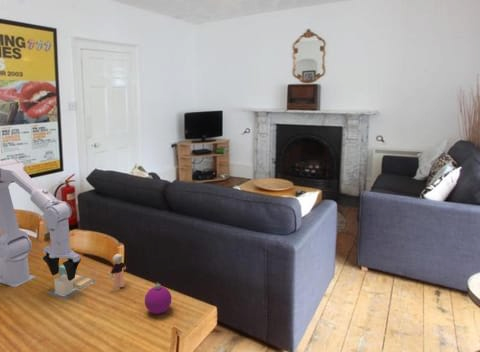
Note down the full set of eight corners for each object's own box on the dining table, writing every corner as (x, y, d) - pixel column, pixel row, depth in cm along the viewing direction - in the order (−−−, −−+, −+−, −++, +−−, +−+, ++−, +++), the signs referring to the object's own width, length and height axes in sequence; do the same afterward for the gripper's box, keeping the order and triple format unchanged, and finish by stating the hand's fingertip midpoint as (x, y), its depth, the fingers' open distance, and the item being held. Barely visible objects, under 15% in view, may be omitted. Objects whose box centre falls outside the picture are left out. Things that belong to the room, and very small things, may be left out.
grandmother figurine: (119, 293, 124) (117, 259, 121) (108, 292, 125) (106, 258, 122) (130, 282, 132) (128, 250, 129) (120, 281, 132) (118, 249, 130)
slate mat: (46, 293, 123) (46, 293, 123) (79, 275, 136) (79, 275, 136) (66, 300, 120) (65, 299, 120) (98, 281, 132) (98, 280, 132)
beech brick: (63, 284, 129) (63, 280, 128) (75, 278, 133) (74, 274, 133) (80, 289, 126) (80, 285, 125) (91, 283, 130) (91, 279, 130)
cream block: (55, 292, 123) (53, 279, 122) (65, 287, 127) (63, 274, 126) (63, 295, 122) (62, 282, 121) (73, 290, 125) (72, 276, 124)
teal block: (59, 279, 133) (58, 266, 132) (68, 274, 137) (67, 262, 135) (67, 281, 131) (66, 269, 130) (76, 277, 135) (75, 264, 134)
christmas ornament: (139, 313, 114) (138, 283, 111) (159, 301, 120) (158, 273, 118) (158, 322, 109) (157, 292, 107) (177, 309, 116) (176, 281, 114)
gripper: (33, 239, 120) (37, 277, 123) (65, 247, 114) (69, 287, 117) (52, 232, 126) (55, 268, 129) (83, 239, 120) (86, 277, 123)
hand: (63, 276), depth 123 cm, fingers open, 7 cm apart
